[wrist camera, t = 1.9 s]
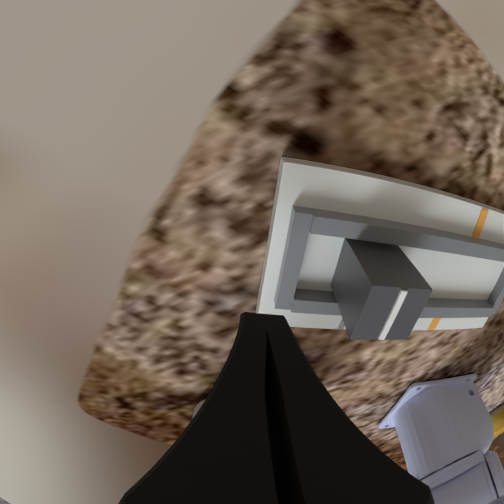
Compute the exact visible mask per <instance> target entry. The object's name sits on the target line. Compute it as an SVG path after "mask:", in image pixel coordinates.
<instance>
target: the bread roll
mask: <svg viewBox="0 0 504 504" xmlns="http://www.w3.org/2000/svg"><path fill="white" fill-rule="evenodd" d="M489 415H490V417H491V419H492V422H493V426H494V435H493V436H496V435H499V434H501V433H503V432H504V404H502V405H501V406H499V407H498V408H496V409H495V410H493V411H492V412H490V413H489Z"/></svg>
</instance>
